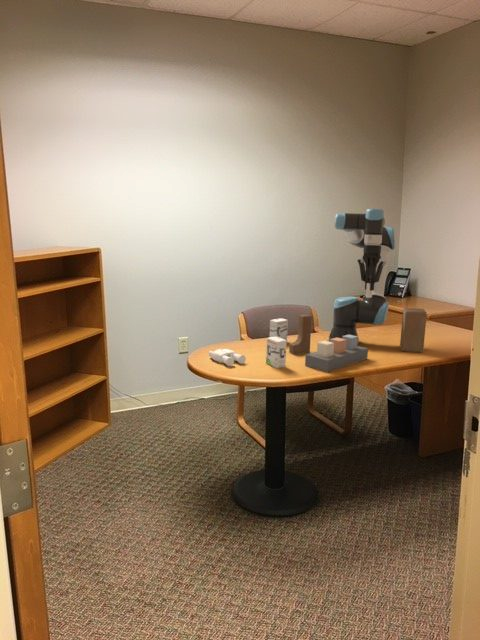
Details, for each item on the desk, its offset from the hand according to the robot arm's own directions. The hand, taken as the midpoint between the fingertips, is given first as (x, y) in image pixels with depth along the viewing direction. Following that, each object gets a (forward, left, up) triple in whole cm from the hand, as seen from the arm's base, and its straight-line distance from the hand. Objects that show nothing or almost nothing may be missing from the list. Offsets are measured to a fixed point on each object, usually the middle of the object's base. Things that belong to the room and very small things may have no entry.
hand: (368, 297), depth 229 cm
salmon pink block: (-4, -16, -25) cm, 30 cm away
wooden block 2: (+7, +30, -29) cm, 42 cm away
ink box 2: (-19, -40, -29) cm, 52 cm away
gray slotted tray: (-4, -16, -28) cm, 33 cm away
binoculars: (-38, -52, -29) cm, 71 cm away
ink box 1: (-45, -10, -29) cm, 54 cm away
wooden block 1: (-25, -17, -29) cm, 42 cm away
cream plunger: (-4, -25, -25) cm, 35 cm away
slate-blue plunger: (-4, -7, -25) cm, 26 cm away
